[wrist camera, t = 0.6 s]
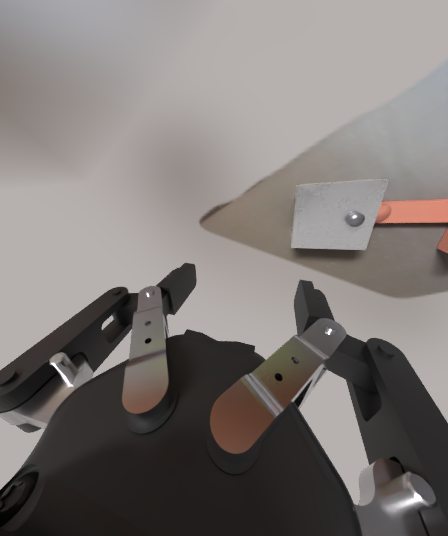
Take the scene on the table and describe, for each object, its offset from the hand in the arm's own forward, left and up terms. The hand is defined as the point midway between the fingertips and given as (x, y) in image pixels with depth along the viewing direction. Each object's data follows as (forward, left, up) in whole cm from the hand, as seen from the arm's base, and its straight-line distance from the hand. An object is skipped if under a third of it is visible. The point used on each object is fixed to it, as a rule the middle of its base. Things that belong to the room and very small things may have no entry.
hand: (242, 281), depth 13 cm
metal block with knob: (-9, -1, -21) cm, 23 cm away
